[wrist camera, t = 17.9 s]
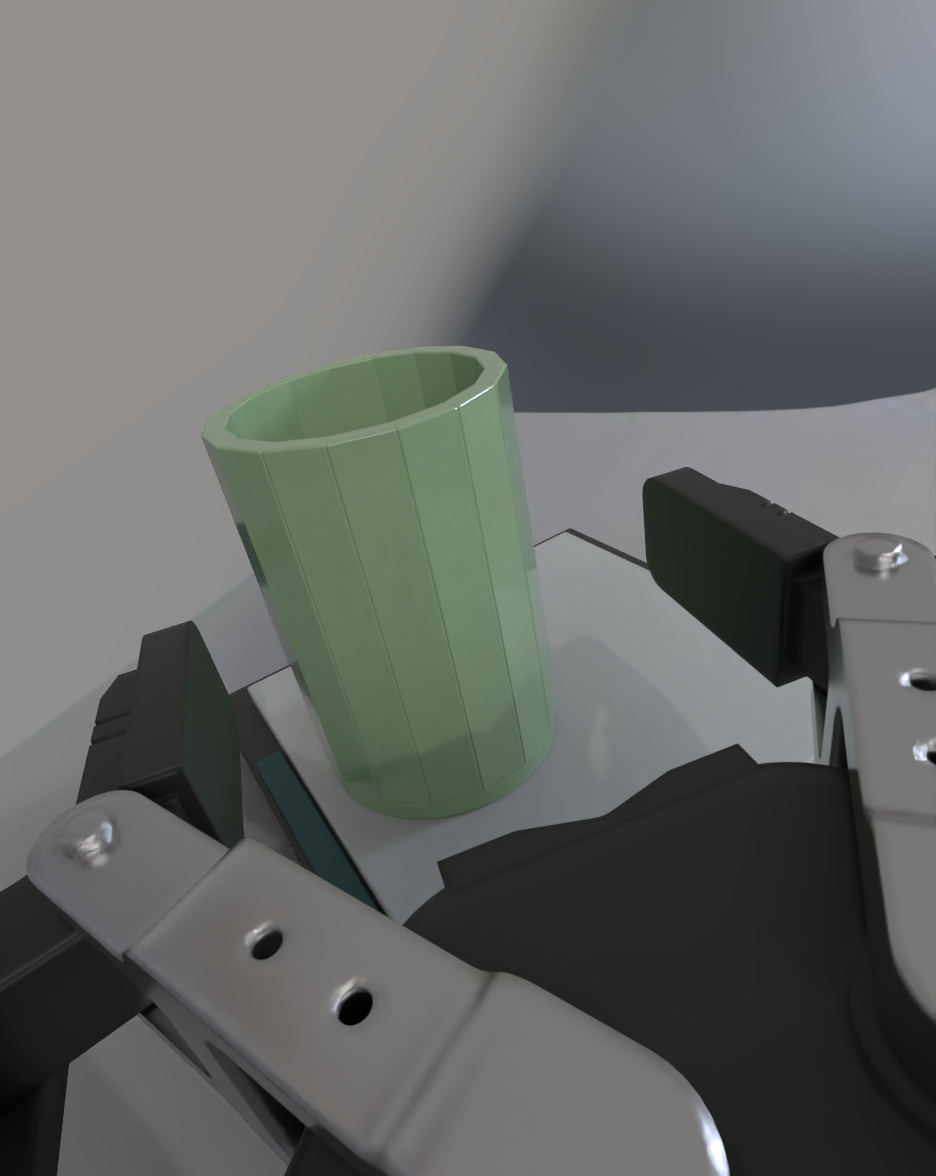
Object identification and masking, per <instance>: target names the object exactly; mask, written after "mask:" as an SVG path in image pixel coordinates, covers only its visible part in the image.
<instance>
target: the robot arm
mask: <svg viewBox="0 0 936 1176" xmlns="http://www.w3.org/2000/svg"><path fill="white" fill-rule="evenodd" d="M643 511H644V528H645V545H646V558H647V564H648V567H649V570H650V573H651V575H652V577H653V579H654V581H655V582H656V584H657V585H658V586H659V587H660V588H661V589H662V590H663V591H664V592H665V593H666V594H668V595H669V596H670V597H671V598H672V599H673V600H675V601H676V602H677V603H678V604H679V605H681V606H682V607H683V608H684V609H685V610H686V611H688V612H689V613H690V614H691V615H692V616H693V617H695V618H696V619H697V620H698V621H699V622H700V623H702V624H703V625H704V626H705V627H706V628H708V629H709V630H710V631H711V632H712V633H713V634H715V635H716V636H717V637H718V638H719V639H720V640H722V641H723V642H724V643H725V644H726V645H727V646H729V647H730V648H731V649H732V650H733V651H735V652H736V653H737V654H738V655H739V656H740V657H742V658H743V659H744V660H745V661H746V662H747V663H749V664H750V665H751V666H752V667H753V668H754V669H756V670H757V671H758V672H759V673H760V674H762V675H763V676H764V677H765V678H766V679H767V680H769V681H770V682H771V683H772V684H773V685H774V686H776V687H777V688H778V687H781V686H783V685H786V684H788V683H791V682H794V681H796V680H799V679H801V678H804V677H808V678H810V679H811V680H812V688H811V713H812V728H813V743H814V757H815V763H807V762H770V763H761V764H758V763H757V762H756V761H755V760H754V759H753V758H752V757H751V756H750V755H749V754H748V753H747V752H746V751H745V750H744V749H743V748H742V747H741V746H740V745H739V744H738V743H737V744H735V745H732V746H729V747H727V748H724V749H722V750H719V751H717V752H714V753H712V754H709V755H707V756H704V757H701V758H699V759H696V760H694V761H691V762H689V763H686V764H684V765H681V766H679V767H676V768H674V769H671V770H668V771H667V772H666V773H664V774H663V775H661V776H660V777H659V778H657V779H656V780H654V781H653V782H651V783H650V784H649V785H647V786H646V787H644V788H643V789H642V790H640V791H639V792H637V793H636V794H635V795H633V796H632V797H630V798H629V799H628V800H626V801H625V802H623V803H622V804H620V805H619V806H618V807H616V808H615V809H613V810H612V811H611V812H609V813H607V814H605V815H603V816H600V817H596V818H591V819H585V820H579V821H572V822H566V823H560V824H554V825H548V826H542V827H536V828H530V829H523V830H517V831H514V832H511V833H508V834H506V835H503V836H501V837H498V838H496V839H493V840H491V841H488V842H486V843H483V844H480V845H478V846H475V847H473V848H470V849H468V850H465V851H463V852H460V853H458V854H455V855H453V856H450V857H447V858H445V859H442V860H440V861H437V864H438V868H439V871H440V874H441V877H442V880H443V884H444V887H445V888H443V889H442V890H440V891H439V892H438V893H436V894H435V895H433V896H432V897H431V898H429V899H428V900H427V901H426V902H425V903H424V904H423V905H421V906H420V907H419V908H418V909H417V910H416V911H415V912H414V913H413V914H412V915H411V916H410V917H409V918H408V919H407V920H406V921H405V922H404V924H403V925H400V924H399V923H397V922H395V921H394V920H392V919H390V918H388V917H387V916H385V915H383V914H382V913H380V912H378V911H377V910H375V909H373V908H371V907H370V906H368V905H366V904H365V903H363V902H361V901H359V900H358V899H356V898H354V897H353V896H351V895H349V894H348V893H346V892H344V891H342V890H341V889H339V888H337V887H336V886H334V885H332V884H330V883H329V882H327V881H325V880H324V879H322V878H320V877H318V876H317V875H315V874H313V873H312V872H310V871H308V870H307V869H305V868H303V867H301V866H300V865H298V864H296V863H295V862H293V861H291V860H289V859H288V858H286V857H284V856H283V855H281V854H279V853H278V852H276V851H274V850H272V849H271V848H269V847H267V846H266V845H264V844H262V843H260V842H259V841H257V840H255V839H252V838H249V837H244V830H243V809H242V788H241V767H240V746H239V729H238V723H237V719H236V715H235V711H234V708H233V705H232V702H231V699H230V697H229V694H228V692H227V690H226V688H225V686H224V684H223V681H222V679H221V677H220V675H219V673H218V671H217V668H216V666H215V664H214V662H213V660H212V658H211V655H210V653H209V651H208V649H207V647H206V645H205V643H204V640H203V638H202V636H201V634H200V632H199V630H198V628H197V627H196V625H195V624H194V623H193V622H192V621H188V622H185V623H181V624H178V625H175V626H172V627H169V628H165V629H162V630H159V631H156V632H153V633H150V634H146V635H144V636H143V638H142V644H141V649H140V655H139V662H138V668H137V670H134V671H131V672H127V673H124V674H121V675H118V677H117V678H116V679H115V681H114V682H113V683H112V685H111V686H110V687H109V689H108V690H107V691H106V693H105V694H104V695H103V696H102V698H101V699H100V703H99V707H98V711H97V716H96V720H95V723H96V726H94V729H93V733H92V737H91V743H92V745H91V746H89V750H88V755H87V759H86V763H85V768H84V772H83V776H82V781H81V785H80V789H79V794H78V798H77V802H76V806H74V807H72V808H71V809H69V810H68V811H66V812H65V813H63V814H62V815H61V816H60V817H58V818H57V819H56V820H55V821H54V822H52V823H51V824H50V825H49V826H48V827H47V828H46V829H45V831H44V832H43V833H42V834H41V835H40V837H39V838H38V839H37V841H36V842H35V844H34V846H33V847H32V849H31V851H30V854H29V856H28V860H27V864H26V870H27V875H26V876H25V877H23V878H22V879H21V880H19V881H17V882H16V883H14V884H13V885H11V886H10V887H8V888H6V889H5V890H3V891H1V892H0V1176H57V1169H58V1160H59V1150H60V1141H61V1132H62V1123H63V1114H64V1105H65V1096H66V1087H67V1077H68V1068H69V1063H70V1062H72V1061H73V1060H75V1059H76V1058H77V1057H79V1056H80V1055H81V1054H83V1053H84V1052H86V1051H87V1050H88V1049H90V1048H91V1047H93V1046H94V1045H95V1044H97V1043H98V1042H100V1041H101V1040H102V1039H104V1038H105V1037H106V1036H108V1035H109V1034H111V1033H112V1032H113V1031H115V1030H116V1029H118V1028H119V1027H120V1026H122V1025H123V1024H125V1023H126V1022H127V1021H129V1020H130V1019H131V1018H133V1017H134V1016H136V1015H137V1016H138V1017H139V1018H140V1019H141V1020H142V1021H143V1022H144V1023H145V1024H146V1025H147V1026H149V1027H150V1028H151V1029H152V1030H153V1031H154V1032H155V1033H156V1034H157V1035H158V1036H159V1037H160V1038H161V1039H162V1040H163V1041H164V1042H165V1043H166V1044H168V1045H169V1046H170V1047H171V1048H172V1049H173V1050H174V1051H175V1052H176V1053H177V1054H178V1055H179V1056H180V1057H181V1058H182V1059H183V1060H184V1061H185V1062H187V1063H188V1064H189V1065H190V1066H191V1067H192V1068H193V1069H194V1070H195V1071H196V1072H197V1073H198V1074H199V1075H200V1076H201V1077H202V1078H203V1079H205V1080H206V1081H207V1082H208V1083H209V1084H210V1085H211V1086H212V1087H213V1088H214V1089H215V1090H216V1091H217V1092H218V1093H219V1094H220V1095H221V1096H222V1097H223V1098H224V1099H225V1100H226V1101H227V1102H228V1103H229V1104H230V1105H231V1106H232V1107H233V1108H234V1109H235V1110H236V1111H237V1112H238V1113H239V1115H240V1116H241V1117H242V1118H243V1119H244V1120H245V1121H246V1123H247V1124H248V1125H249V1126H250V1127H251V1128H252V1129H253V1130H254V1131H255V1133H256V1134H257V1135H258V1136H259V1137H260V1138H261V1139H262V1140H263V1141H264V1142H265V1143H266V1144H267V1145H268V1146H269V1147H270V1148H271V1149H272V1150H273V1151H274V1152H275V1153H276V1154H277V1155H278V1156H279V1157H280V1158H281V1159H282V1160H283V1161H284V1162H285V1163H286V1164H287V1165H288V1168H287V1170H286V1173H285V1175H284V1176H936V556H934V555H933V553H932V552H931V551H930V550H929V549H928V548H927V547H926V546H924V545H923V544H921V543H919V542H917V541H914V540H912V539H909V538H906V537H902V536H898V535H893V534H885V533H859V534H852V535H848V536H844V537H841V538H839V537H837V536H836V535H834V534H832V533H830V532H828V531H826V530H824V529H822V528H820V527H818V526H817V525H815V524H813V523H811V522H809V521H807V520H805V519H803V518H801V517H799V516H798V515H796V514H794V513H788V511H787V510H786V509H784V508H782V507H780V506H779V505H777V504H775V503H774V504H771V503H770V501H769V500H767V499H765V498H763V497H762V496H760V495H758V494H756V493H754V492H752V491H750V490H747V489H742V488H738V487H733V486H729V485H725V484H719V483H717V482H716V481H714V480H712V479H710V478H708V477H706V476H705V475H703V474H701V473H699V472H697V471H695V470H694V469H692V468H689V467H684V468H681V469H678V470H675V471H671V472H668V473H665V474H662V475H659V476H655V477H652V478H649V479H647V480H646V481H645V483H644V486H643Z"/></svg>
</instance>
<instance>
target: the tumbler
mask: <svg viewBox="0 0 936 1176" xmlns="http://www.w3.org/2000/svg"><path fill="white" fill-rule="evenodd" d="M201 437H202V440H203V442H204V445H205V447H206V450H207V452H208V455H209V458H210V460H211V463H212V466H213V468H214V471H215V473H216V476H217V478H218V481H219V483H220V486H221V489H222V491H223V494H224V496H225V499H226V501H227V504H228V506H229V509H230V512H231V514H232V517H233V519H234V522H235V524H236V527H237V530H238V532H239V535H240V537H241V540H242V542H243V545H244V548H245V550H246V552H247V555H248V558H249V560H250V563H251V565H252V568H253V571H254V573H255V576H256V578H257V581H258V583H259V586H260V589H261V591H262V594H263V596H264V599H265V601H266V604H267V606H268V609H269V612H270V614H271V617H272V619H273V622H274V624H275V627H276V630H277V632H278V635H279V637H280V640H281V642H282V645H283V647H284V650H285V653H286V655H287V658H288V660H289V663H290V665H291V668H292V671H293V673H294V676H295V678H296V681H297V683H298V686H299V688H300V691H301V694H302V696H303V699H304V701H305V704H306V706H307V709H308V712H309V714H310V717H311V719H312V722H313V724H314V727H315V729H316V732H317V735H318V737H319V740H320V742H321V745H322V747H323V750H324V753H325V755H326V758H327V759H328V761H329V762H330V764H331V765H332V768H333V770H334V773H335V775H336V777H337V779H338V781H339V783H340V785H341V786H342V787H343V788H344V790H345V791H346V792H347V793H348V794H349V795H350V796H351V797H352V798H354V799H355V800H356V801H357V802H359V803H360V804H362V805H364V806H365V807H367V808H369V809H371V810H374V811H376V812H379V813H381V814H384V815H389V816H393V817H397V818H405V819H437V818H446V817H451V816H455V815H460V814H464V813H467V812H470V811H473V810H476V809H479V808H481V807H484V806H486V805H488V804H491V803H493V802H495V801H497V800H498V799H500V798H502V797H504V796H505V795H507V794H509V793H510V792H512V791H513V790H514V789H516V788H517V787H518V786H520V785H521V784H522V783H523V782H524V781H526V780H527V779H528V778H529V777H530V776H531V775H532V774H533V773H534V772H535V771H536V769H537V768H538V767H539V766H540V765H541V763H542V762H543V760H544V759H545V757H546V755H547V754H548V752H549V750H550V748H551V745H552V743H553V741H554V737H555V733H556V729H557V712H556V699H557V698H556V691H555V685H554V678H553V671H552V664H551V658H550V651H549V644H548V637H547V631H546V624H545V617H544V611H543V604H542V597H541V590H540V584H539V577H538V570H537V563H536V557H535V550H534V543H533V537H532V530H531V523H530V516H529V510H528V503H527V496H526V489H525V483H524V476H523V469H522V463H521V456H520V449H519V442H518V436H517V429H516V422H515V415H514V409H513V402H512V396H511V389H510V382H509V375H508V369H507V365H506V363H505V362H504V361H503V360H502V359H501V358H500V357H499V356H498V355H497V354H496V353H495V352H493V351H487V350H482V349H477V348H471V347H466V346H435V347H434V346H433V347H415V348H408V349H401V350H394V351H387V352H379V353H375V354H368V355H364V356H360V357H355V358H351V359H346V360H342V361H338V362H333V363H329V364H326V365H321V366H319V367H315V368H312V369H309V370H306V371H303V372H299V373H296V374H293V375H290V376H287V377H284V378H281V379H279V380H275V381H273V382H271V383H269V384H266V385H264V386H262V387H260V388H258V389H255V390H253V391H250V392H248V393H246V394H244V395H242V396H240V397H238V398H236V399H234V400H233V401H231V402H230V403H228V404H227V405H226V406H224V407H223V408H221V409H220V410H218V411H217V412H215V413H214V414H213V415H211V416H210V417H209V419H208V421H207V423H206V425H205V427H204V429H203V431H202V433H201Z"/></svg>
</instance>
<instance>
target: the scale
mask: <svg viewBox="0 0 936 1176" xmlns="http://www.w3.org/2000/svg"><path fill="white" fill-rule="evenodd" d="M534 550H535V557H536V563H537V570H538V577H539V584H540V590H541V597H542V604H543V611H544V617H545V624H546V631H547V637H548V644H549V651H550V658H551V664H552V671H553V678H554V685H555V691H556V698H557V699H556V712H557V729H556V733H555V737H554V741H553V743H552V745H551V748H550V750H549V752H548V754H547V755H546V757H545V759H544V760H543V762H542V763H541V765H540V766H539V767H538V768H537V769H536V771H535V772H534V773H533V774H532V775H531V776H530V777H529V778H528V779H527V780H526V781H524V782H523V783H522V784H521V785H520V786H518V787H517V788H516V789H514V790H513V791H512V792H510V793H509V794H507V795H505V796H504V797H502V798H500V799H498V800H497V801H495V802H493V803H491V804H488V805H486V806H484V807H481V808H479V809H476V810H473V811H470V812H467V813H464V814H460V815H455V816H451V817H446V818H437V819H405V818H397V817H393V816H389V815H384V814H381V813H379V812H376V811H374V810H371V809H369V808H367V807H365V806H364V805H362V804H360V803H359V802H357V801H356V800H355V799H354V798H352V797H351V796H350V795H349V794H348V793H347V792H346V791H345V790H344V788H343V787H342V786H341V785H340V783H339V781H338V779H337V777H336V775H335V773H334V770H333V768H332V765H331V764H330V762H329V761H328V759H327V758H326V755H325V753H324V750H323V747H322V745H321V742H320V740H319V737H318V735H317V732H316V729H315V727H314V724H313V722H312V719H311V717H310V714H309V712H308V709H307V706H306V704H305V701H304V699H303V696H302V694H301V691H300V688H299V686H298V683H297V681H296V678H295V676H294V673H293V671H292V668H291V665H289V666H287V667H284V668H282V669H280V670H278V671H276V672H274V673H272V674H270V675H268V676H266V677H264V678H262V679H260V680H258V681H256V682H254V683H252V684H250V685H248V686H246V687H243V688H241V689H239V690H237V691H235V692H233V693H231V694H229V697H230V699H231V702H232V705H233V708H234V711H235V715H236V719H237V723H238V729H239V746H240V750H241V752H242V754H243V756H244V758H245V759H246V761H247V763H248V765H249V767H250V769H251V771H252V773H253V774H254V776H255V778H256V780H257V782H258V784H259V786H260V787H261V789H262V791H263V793H264V795H265V797H266V799H267V801H268V802H269V804H270V806H271V808H272V810H273V812H274V814H275V815H276V817H277V819H278V821H279V823H280V825H281V827H282V829H283V830H284V832H285V834H286V836H287V838H288V840H289V842H290V843H291V845H292V847H293V849H294V851H295V853H296V855H297V857H298V858H299V860H300V862H301V864H302V866H303V868H305V869H307V870H308V871H310V872H312V873H313V874H315V875H317V876H318V877H320V878H322V879H324V880H325V881H327V882H329V883H330V884H332V885H334V886H336V887H337V888H339V889H341V890H342V891H344V892H346V893H348V894H349V895H351V896H353V897H354V898H356V899H358V900H359V901H361V902H363V903H365V904H366V905H368V906H370V907H371V908H373V909H375V910H377V911H378V912H380V913H382V914H383V915H385V916H387V917H388V918H390V919H392V920H394V921H395V922H397V923H399V924H400V925H403V924H404V922H405V921H406V920H407V919H408V918H409V917H410V916H411V915H412V914H413V913H414V912H415V911H416V910H417V909H418V908H419V907H420V906H421V905H423V904H424V903H425V902H426V901H427V900H428V899H429V898H431V897H432V896H433V895H435V894H436V893H438V892H439V891H440V890H442V889H443V888H445V887H444V884H443V880H442V877H441V874H440V871H439V868H438V864H437V861H440V860H442V859H445V858H447V857H450V856H453V855H455V854H458V853H460V852H463V851H465V850H468V849H470V848H473V847H475V846H478V845H480V844H483V843H486V842H488V841H491V840H493V839H496V838H498V837H501V836H503V835H506V834H508V833H511V832H514V831H517V830H523V829H530V828H536V827H542V826H548V825H554V824H560V823H566V822H572V821H579V820H585V819H591V818H596V817H600V816H603V815H605V814H607V813H609V812H611V811H612V810H613V809H615V808H616V807H618V806H619V805H620V804H622V803H623V802H625V801H626V800H628V799H629V798H630V797H632V796H633V795H635V794H636V793H637V792H639V791H640V790H642V789H643V788H644V787H646V786H647V785H649V784H650V783H651V782H653V781H654V780H656V779H657V778H659V777H660V776H661V775H663V774H664V773H666V772H667V771H668V770H671V769H674V768H676V767H679V766H681V765H684V764H686V763H689V762H691V761H694V760H696V759H699V758H701V757H704V756H707V755H709V754H712V753H714V752H717V751H719V750H722V749H724V748H727V747H729V746H732V745H735V744H737V743H738V744H739V745H740V746H741V747H742V748H743V749H744V750H745V751H746V752H747V753H748V754H749V755H750V756H751V757H752V758H753V759H754V760H755V761H756V762H757V763H758V764H761V763H770V762H807V763H815V757H814V743H813V728H812V713H811V688H812V680H811V679H810V678H808V677H804V678H801V679H799V680H796V681H794V682H791V683H788V684H786V685H783V686H781V687H778V688H777V687H776V686H774V685H773V684H772V683H771V682H770V681H769V680H767V679H766V678H765V677H764V676H763V675H762V674H760V673H759V672H758V671H757V670H756V669H754V668H753V667H752V666H751V665H750V664H749V663H747V662H746V661H745V660H744V659H743V658H742V657H740V656H739V655H738V654H737V653H736V652H735V651H733V650H732V649H731V648H730V647H729V646H727V645H726V644H725V643H724V642H723V641H722V640H720V639H719V638H718V637H717V636H716V635H715V634H713V633H712V632H711V631H710V630H709V629H708V628H706V627H705V626H704V625H703V624H702V623H700V622H699V621H698V620H697V619H696V618H695V617H693V616H692V615H691V614H690V613H689V612H688V611H686V610H685V609H684V608H683V607H682V606H681V605H679V604H678V603H677V602H676V601H675V600H673V599H672V598H671V597H670V596H669V595H668V594H666V593H665V592H664V591H663V590H662V589H661V588H660V587H659V586H658V585H657V584H656V582H655V581H654V579H653V577H652V575H651V573H650V570H649V567H648V564H647V563H645V562H643V561H641V560H639V559H637V558H634V557H632V556H630V555H628V554H626V553H624V552H621V551H619V550H617V549H615V548H613V547H610V546H608V545H606V544H604V543H602V542H599V541H597V540H595V539H593V538H591V537H589V536H586V535H584V534H582V533H580V532H578V531H575V530H573V529H571V528H569V529H567V530H565V531H563V532H561V533H559V534H557V535H555V536H553V537H551V538H549V539H547V540H545V541H543V542H541V543H539V544H537V545H535V546H534Z"/></svg>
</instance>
